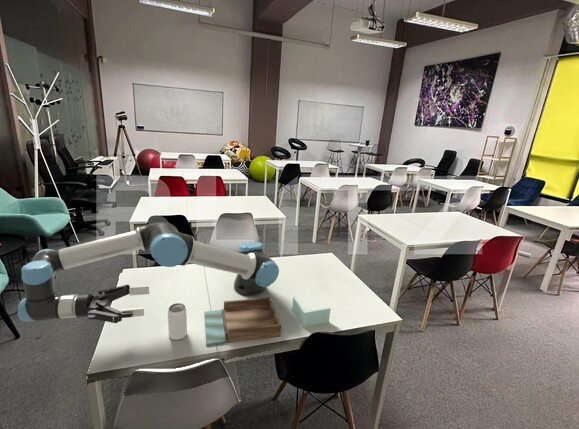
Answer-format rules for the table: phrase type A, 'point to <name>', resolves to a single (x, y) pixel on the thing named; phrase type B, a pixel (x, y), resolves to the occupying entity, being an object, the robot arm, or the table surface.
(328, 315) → the l-shaped corner panel
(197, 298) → the table surface
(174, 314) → the can
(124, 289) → the robot arm
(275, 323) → the grooved wooden tray
